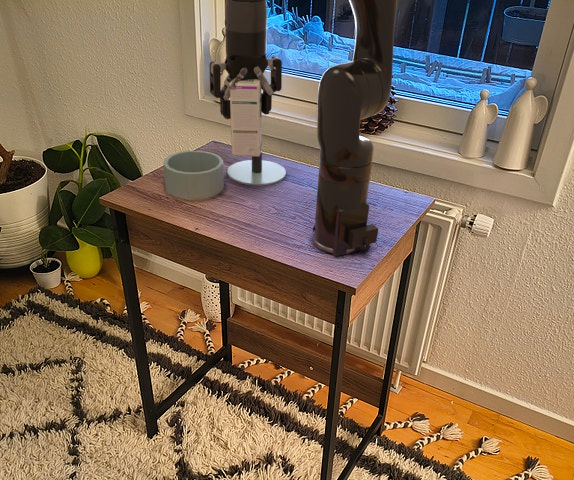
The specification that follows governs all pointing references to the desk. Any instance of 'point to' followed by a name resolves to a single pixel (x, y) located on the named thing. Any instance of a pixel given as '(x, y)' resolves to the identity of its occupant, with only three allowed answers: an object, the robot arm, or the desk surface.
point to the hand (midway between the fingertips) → (246, 115)
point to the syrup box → (246, 118)
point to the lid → (256, 172)
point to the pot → (193, 174)
